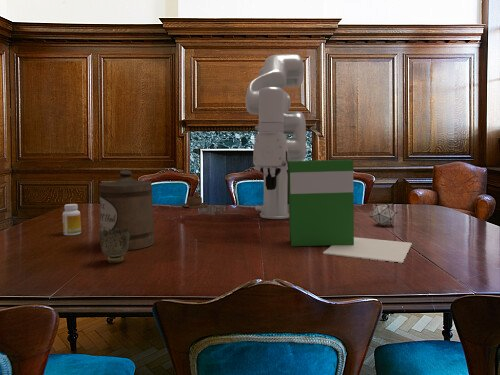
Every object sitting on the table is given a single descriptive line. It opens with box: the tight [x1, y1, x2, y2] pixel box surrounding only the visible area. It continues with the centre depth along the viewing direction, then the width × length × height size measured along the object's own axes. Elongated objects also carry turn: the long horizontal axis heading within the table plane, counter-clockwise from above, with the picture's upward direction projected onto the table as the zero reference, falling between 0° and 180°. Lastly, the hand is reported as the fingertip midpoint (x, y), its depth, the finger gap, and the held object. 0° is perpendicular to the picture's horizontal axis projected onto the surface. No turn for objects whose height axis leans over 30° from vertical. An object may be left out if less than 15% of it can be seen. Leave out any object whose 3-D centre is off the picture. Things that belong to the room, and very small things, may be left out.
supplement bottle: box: [62, 203, 82, 236], centre depth 134 cm, size 5×5×10 cm
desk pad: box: [322, 236, 413, 264], centre depth 114 cm, size 20×22×1 cm
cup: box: [98, 228, 130, 264], centre depth 102 cm, size 8×7×8 cm
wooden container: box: [98, 168, 155, 251], centre depth 119 cm, size 15×15×22 cm
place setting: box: [181, 191, 214, 209], centre depth 198 cm, size 18×20×6 cm
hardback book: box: [287, 159, 355, 247], centre depth 119 cm, size 18×7×24 cm, turn 89°
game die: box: [369, 202, 399, 227], centre depth 147 cm, size 9×8×10 cm
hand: (271, 189), depth 126 cm, fingers closed
